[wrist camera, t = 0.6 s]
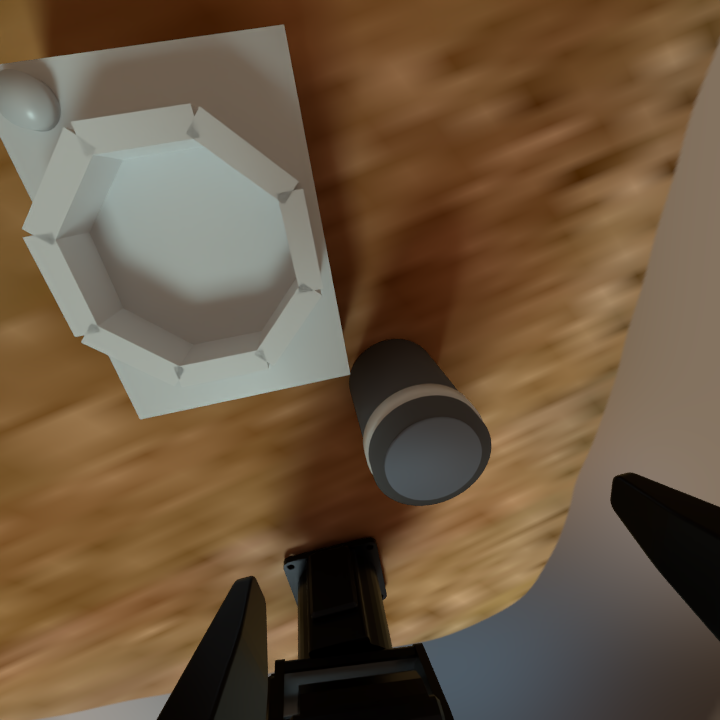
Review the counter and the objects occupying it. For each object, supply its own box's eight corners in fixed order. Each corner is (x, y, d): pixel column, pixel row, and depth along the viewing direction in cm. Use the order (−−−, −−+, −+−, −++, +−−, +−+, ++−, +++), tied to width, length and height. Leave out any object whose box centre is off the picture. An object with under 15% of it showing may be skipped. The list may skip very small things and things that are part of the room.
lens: (438, 407, 23) (495, 494, 16) (355, 426, 22) (379, 523, 16) (433, 328, 21) (496, 393, 14) (339, 348, 20) (361, 423, 14)
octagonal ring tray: (340, 341, 20) (357, 397, 15) (169, 376, 19) (120, 449, 14) (286, 64, 15) (281, -7, 9) (50, 99, 14) (-101, 44, 9)
